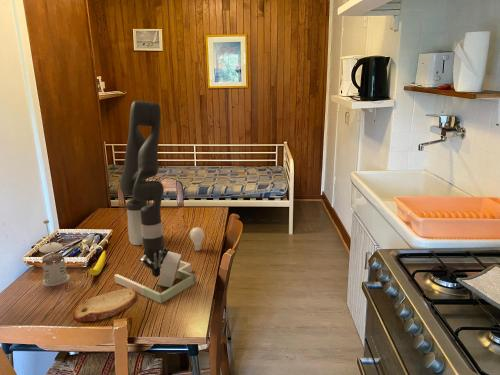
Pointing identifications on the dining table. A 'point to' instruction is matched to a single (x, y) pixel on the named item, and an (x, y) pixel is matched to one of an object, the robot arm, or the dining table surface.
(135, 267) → the dining table surface
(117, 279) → the channel
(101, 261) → the banana
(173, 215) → the dining table surface
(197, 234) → the lightbulb
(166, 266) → the small box
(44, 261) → the french press
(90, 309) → the bread slice
